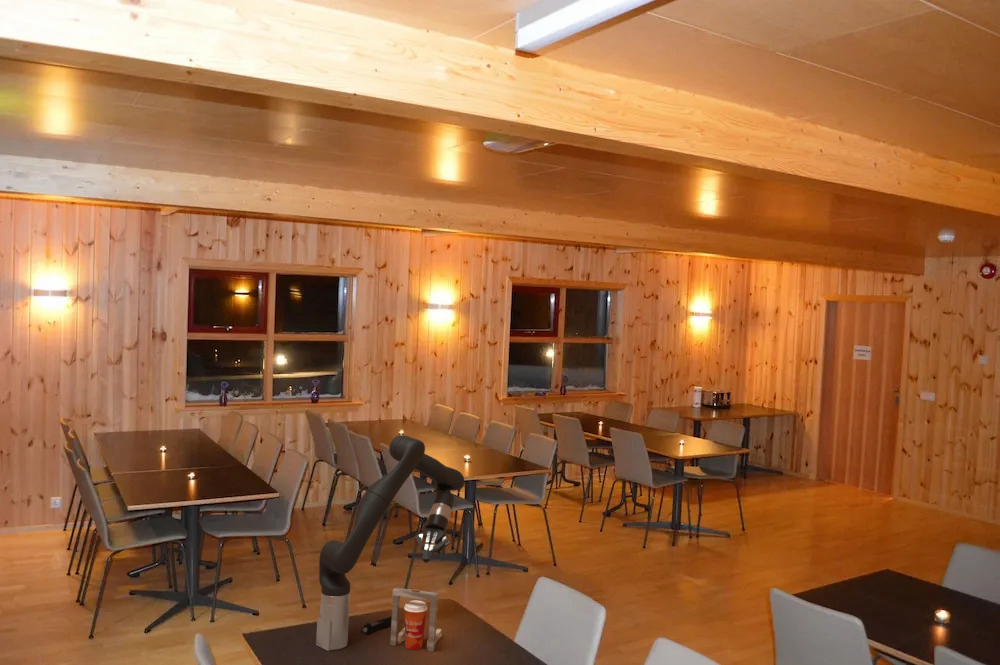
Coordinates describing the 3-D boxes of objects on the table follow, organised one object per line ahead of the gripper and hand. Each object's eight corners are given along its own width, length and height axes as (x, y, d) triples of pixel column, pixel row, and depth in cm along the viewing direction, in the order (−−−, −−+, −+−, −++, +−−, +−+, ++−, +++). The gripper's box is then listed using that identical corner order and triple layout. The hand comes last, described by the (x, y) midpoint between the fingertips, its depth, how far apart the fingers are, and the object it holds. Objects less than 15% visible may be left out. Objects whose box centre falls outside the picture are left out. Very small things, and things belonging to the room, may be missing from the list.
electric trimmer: (401, 624, 277) (401, 615, 277) (367, 635, 265) (367, 626, 265) (393, 621, 280) (394, 612, 280) (359, 632, 268) (360, 623, 268)
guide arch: (403, 630, 271) (406, 576, 271) (445, 637, 267) (448, 581, 267) (389, 645, 258) (392, 587, 258) (432, 652, 255) (435, 593, 255)
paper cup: (398, 648, 256) (400, 606, 256) (407, 640, 263) (409, 598, 263) (420, 653, 254) (422, 609, 253) (429, 644, 261) (431, 601, 261)
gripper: (419, 510, 286) (405, 553, 274) (454, 515, 283) (441, 558, 271) (423, 522, 291) (410, 564, 280) (457, 526, 288) (445, 569, 276)
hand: (425, 561), depth 275 cm, fingers closed
